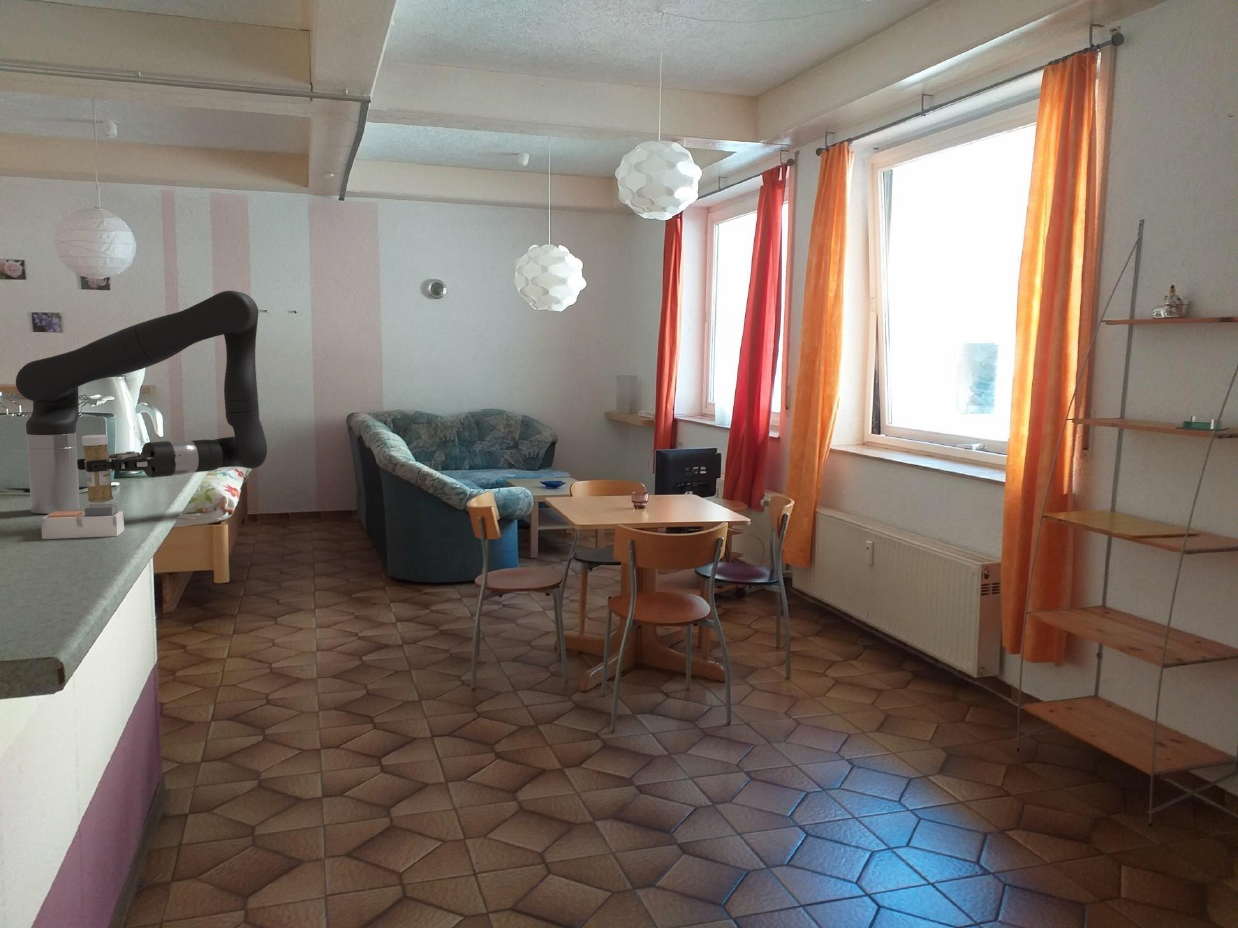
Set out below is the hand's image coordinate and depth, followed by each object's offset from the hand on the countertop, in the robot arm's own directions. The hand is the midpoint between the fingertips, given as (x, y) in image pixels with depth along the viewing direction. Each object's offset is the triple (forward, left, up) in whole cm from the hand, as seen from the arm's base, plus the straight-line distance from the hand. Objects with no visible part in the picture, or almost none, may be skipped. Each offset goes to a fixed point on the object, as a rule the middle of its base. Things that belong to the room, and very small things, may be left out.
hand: (82, 465), depth 181 cm
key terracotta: (+8, -1, -10) cm, 13 cm away
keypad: (+8, +2, -12) cm, 15 cm away
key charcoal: (+8, +5, -9) cm, 13 cm away
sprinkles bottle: (-2, +3, -8) cm, 8 cm away
